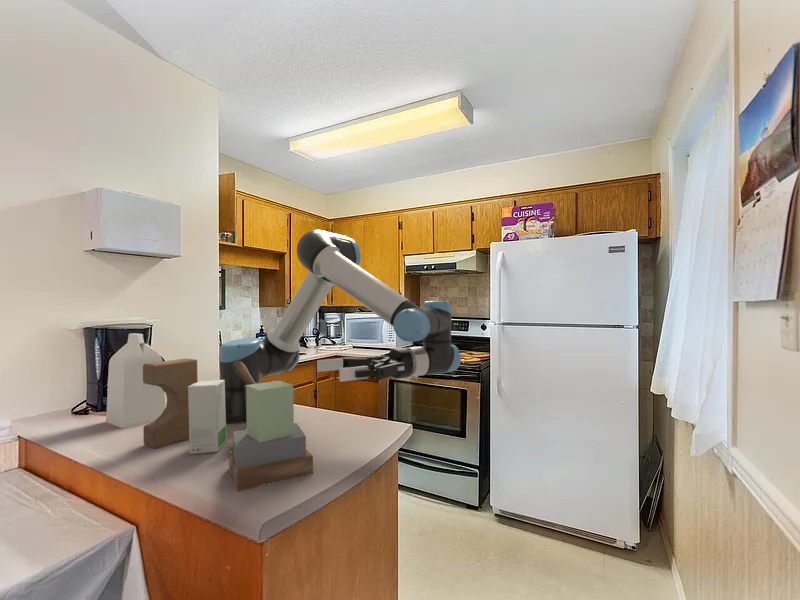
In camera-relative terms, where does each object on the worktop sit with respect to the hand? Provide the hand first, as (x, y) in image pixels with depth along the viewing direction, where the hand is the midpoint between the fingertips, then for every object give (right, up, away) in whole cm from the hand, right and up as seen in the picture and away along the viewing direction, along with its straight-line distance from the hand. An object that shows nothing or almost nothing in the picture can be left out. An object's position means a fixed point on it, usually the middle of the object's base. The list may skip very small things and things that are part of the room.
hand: (327, 370), depth 90 cm
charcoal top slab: (-10, -15, -9) cm, 21 cm away
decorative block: (-41, -20, +11) cm, 47 cm away
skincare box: (-30, -20, +5) cm, 36 cm away
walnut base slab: (-10, -19, -9) cm, 24 cm away
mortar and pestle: (-21, -20, +13) cm, 31 cm away
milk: (-63, -20, +30) cm, 73 cm away
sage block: (-10, -11, -9) cm, 18 cm away
